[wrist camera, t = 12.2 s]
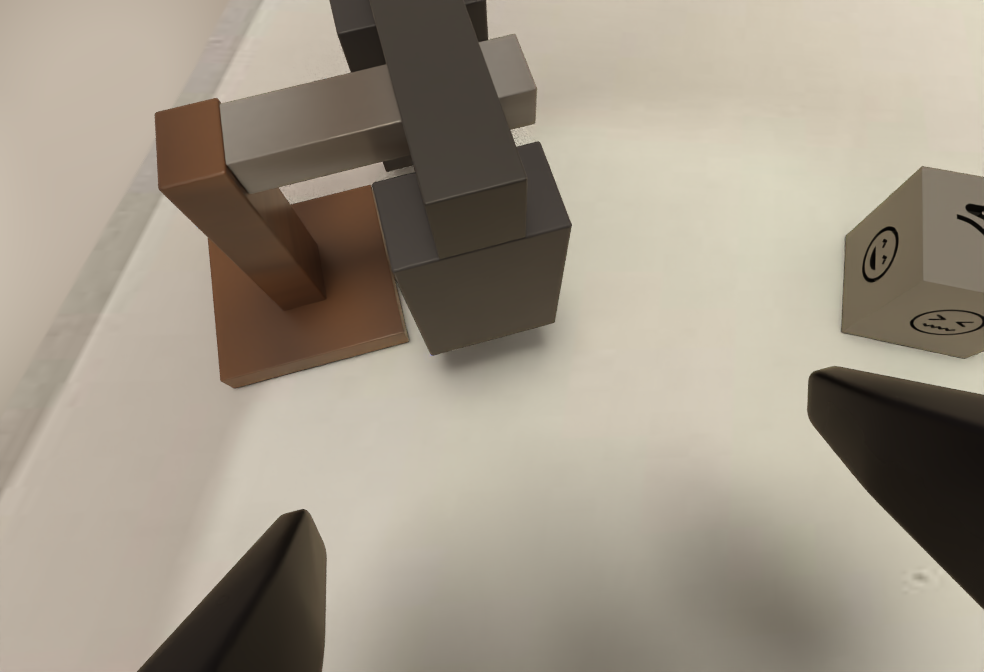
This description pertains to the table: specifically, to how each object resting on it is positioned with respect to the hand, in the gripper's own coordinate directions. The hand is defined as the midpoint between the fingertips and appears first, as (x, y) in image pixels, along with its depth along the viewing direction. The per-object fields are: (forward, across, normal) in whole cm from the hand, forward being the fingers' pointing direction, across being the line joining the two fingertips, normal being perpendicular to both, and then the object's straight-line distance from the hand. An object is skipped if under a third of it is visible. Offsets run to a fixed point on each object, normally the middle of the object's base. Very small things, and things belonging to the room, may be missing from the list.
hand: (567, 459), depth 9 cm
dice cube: (+13, -18, +6) cm, 23 cm away
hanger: (+18, +4, 0) cm, 18 cm away
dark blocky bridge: (+16, 0, -2) cm, 16 cm away
